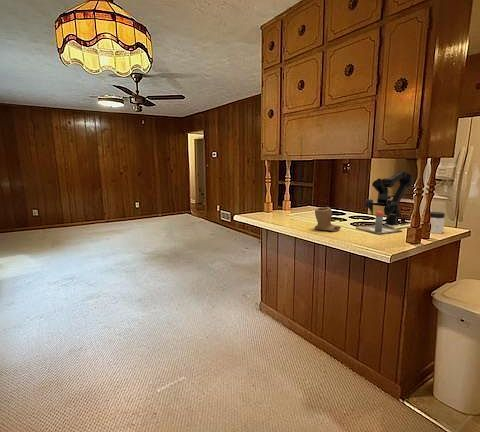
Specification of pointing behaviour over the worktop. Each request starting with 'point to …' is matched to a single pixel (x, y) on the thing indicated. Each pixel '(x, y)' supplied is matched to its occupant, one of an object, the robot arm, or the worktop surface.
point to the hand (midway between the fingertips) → (380, 216)
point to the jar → (437, 222)
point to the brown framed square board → (384, 231)
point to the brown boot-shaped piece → (325, 219)
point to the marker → (379, 221)
